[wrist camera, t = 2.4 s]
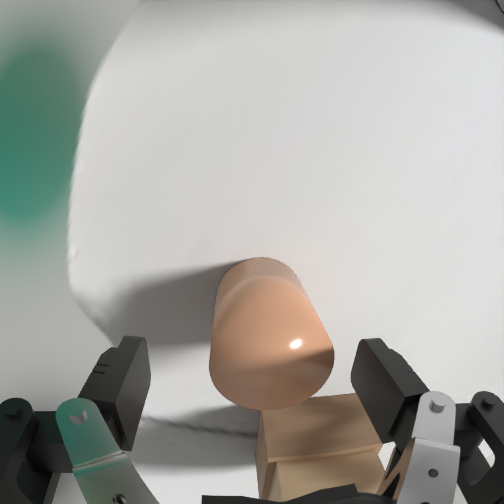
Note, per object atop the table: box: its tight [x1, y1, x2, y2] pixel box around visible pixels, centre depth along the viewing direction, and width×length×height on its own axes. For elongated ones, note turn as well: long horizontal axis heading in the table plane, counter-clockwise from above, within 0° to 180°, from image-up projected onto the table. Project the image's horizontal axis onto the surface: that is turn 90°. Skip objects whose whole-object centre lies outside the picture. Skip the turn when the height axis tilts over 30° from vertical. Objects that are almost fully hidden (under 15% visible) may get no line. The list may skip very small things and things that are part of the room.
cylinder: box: [209, 257, 334, 411], centre depth 13 cm, size 5×5×6 cm
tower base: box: [255, 393, 383, 500], centre depth 17 cm, size 7×7×5 cm
